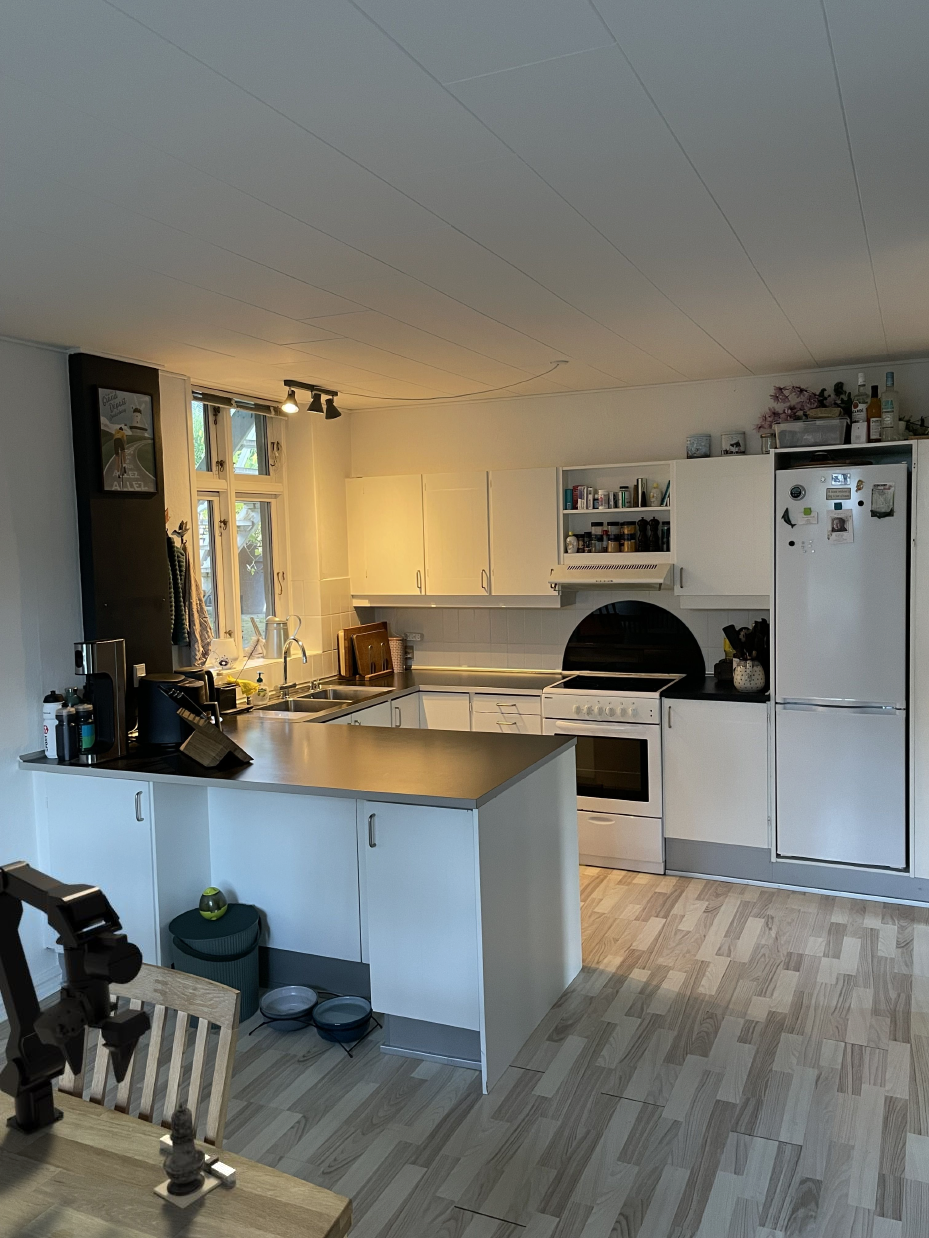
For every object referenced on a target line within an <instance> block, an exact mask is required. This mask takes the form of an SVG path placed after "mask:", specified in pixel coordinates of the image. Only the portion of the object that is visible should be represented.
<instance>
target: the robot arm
mask: <svg viewBox="0 0 929 1238" xmlns="http://www.w3.org/2000/svg"><path fill="white" fill-rule="evenodd" d="M23 902H24V903H26V904H27V905H29V906H31V907H33V908H35V909H37V910H39V911H41V912H43V913H44V914H45V915H46V917H47V918H46V919H47V925H48V926H49V927H51V928H52V929H53V930H54V931H55V932H57V934H58V935H59V936H58V937H57V938H56V939H55V944H56V945H59V946H62V949H63V951H62V952H63V958H64V967H65V968H64V969H65V975H66V976H65V977H66V984H65V985H63V986H61V987H60V991H59V995H60V997H59V1000H58V1001H57V1002H56V1003H55V1004H53V1005H50V1006H49V1007H47V1008H45V1009H43V1010H42V1008H41V1005H40V1002H39V999H38V995H37V992H36V991H37V990H36V988H35V984H34V980H33V977H32V975H31V971H30V968H29V964H28V961H27V958H26V957H27V956H26V954H25V950H24V946H23V943H22V940H21V936H20V933H19V927H20V924H21V921H22V918H23V914H24V905H23ZM120 919H121V917H120V916H119V915H118V913H117V912H116V910H115V909H114V908H113V906H112V905H111V903H110V902H109V899H108V897H107V896H106V894H105V893H104V892H103V891H102V890H101V888H100V887H98V886H96V885H91V884H88V883H87V884H86V883H75V884H74V883H73V884H71V883H70V884H69V883H64V882H62V881H60V880H59V879H56V878H54V877H52V876H50V875H48V874H46V873H44V872H42V871H41V870H37V868H34V867H32V866H31V865H30V864H29V863H28V861H27V860H26V861H25V860H16V861H14V862H10V863H7V864H4V865H1V866H0V995H1V998H2V1002H3V1006H4V1009H5V1013H6V1016H7V1020H8V1023H9V1028H10V1032H9V1035H8V1038H7V1042H6V1044H5V1045H6V1046H5V1050H4V1052H5V1053H4V1054H5V1056H6V1057H5V1058H6V1064H5V1065H4V1067H3V1069H2V1070H1V1071H0V1092H2V1093H4V1094H6V1095H8V1096H10V1097H11V1098H12V1099H13V1098H14V1099H13V1100H14V1101H13V1102H14V1111H15V1113H14V1115H12V1116H10V1117H8V1118H7V1119H6V1124H8V1125H10V1126H11V1127H13V1128H15V1129H16V1130H17V1131H19V1132H21V1133H23V1134H25V1135H29V1134H32V1133H33V1132H35V1131H37V1130H39V1129H41V1128H43V1127H45V1126H47V1125H49V1124H51V1123H53V1122H54V1121H57V1120H58V1119H61V1118H62V1117H64V1115H65V1114H64V1113H65V1112H64V1111H63V1110H61V1109H59V1108H58V1107H56V1106H55V1100H54V1087H53V1080H54V1079H56V1078H59V1077H61V1076H64V1075H65V1072H66V1064H67V1065H68V1066H69V1069H70V1070H71V1071H70V1072H72V1074H73V1076H75V1077H76V1076H78V1075H80V1074H81V1073H82V1068H83V1062H84V1052H85V1038H86V1037H85V1036H86V1028H91V1029H96V1030H100V1031H101V1032H100V1035H101V1038H102V1039H103V1041H104V1043H102V1044H101V1046H102V1047H103V1048H105V1049H106V1050H108V1051H109V1052H110V1058H111V1063H112V1068H113V1075H114V1078H115V1081H116V1082H115V1083H116V1084H122V1083H123V1081H125V1078H126V1076H127V1072H128V1070H129V1067H130V1064H131V1061H132V1057H133V1055H134V1053H135V1050H136V1048H137V1045H138V1043H139V1041H140V1039H141V1037H142V1036H144V1035H146V1032H147V1031H150V1030H151V1029H152V1022H151V1021H152V1020H151V1014H150V1013H148V1012H147V1011H146V1010H141V1009H132V1008H126V1009H125V1010H123V1011H121V1012H120V1013H118V1014H116V1015H114V1016H112V1013H113V1012H115V1011H117V1010H119V1007H118V1002H117V1001H111V994H110V993H111V992H110V985H111V984H117V985H127V984H128V983H130V982H132V981H133V980H135V978H136V977H137V976H138V975H139V973H140V972H141V969H142V966H143V960H144V958H143V957H144V956H143V952H141V949H140V948H139V947H138V945H136V944H135V943H133V942H129V941H128V935H127V934H126V933H117V932H120V931H122V930H123V928H124V927H123V924H122V923H121V921H120ZM103 922H104V923H103ZM99 924H100V925H99ZM93 926H94V927H93ZM88 928H89V929H88Z"/></svg>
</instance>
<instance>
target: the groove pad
mask: <svg viewBox="0 0 929 1238" xmlns="http://www.w3.org/2000/svg"><path fill="white" fill-rule="evenodd" d="M201 1174H202V1175H203V1176H204V1177H205V1183H204V1185H203V1187H202V1188H201V1189H200V1190H198V1191H197V1192H195V1193H193V1194H190V1195H187V1196H173V1195H171V1194H169V1193H168V1192H167V1184H168V1183H169V1181H170V1179H169V1178H168V1179H167V1180H165V1181H164V1182H163V1183H161V1184H159V1185H158V1186H156V1187H154V1188H153V1192H154V1193H156V1194H157V1195H158V1196H160V1197H162V1198H164V1199H166V1200H167V1201H169V1202H171V1203H172V1204H174V1205H176V1206H177V1207H179V1208H181V1209H185V1208H186V1207H188V1206H189V1205H191V1204H192V1203H194V1202H195V1201H196V1200H198V1199H199V1198H201V1197H203V1196H204V1195H205V1194H207V1193H209V1192H210V1191H211V1190H213V1189H215V1188H216V1187H218V1186H219V1185H221V1184H222V1181H221V1180H219V1179H217V1178H216V1177H214V1176H212V1175H210V1174H208V1173H206V1172H205V1171H203V1170H202V1171H201Z"/></svg>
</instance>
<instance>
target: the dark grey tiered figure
mask: <svg viewBox="0 0 929 1238" xmlns="http://www.w3.org/2000/svg"><path fill="white" fill-rule="evenodd" d="M170 1119H171V1120H170V1122H171V1133H170V1135H169V1136H170V1140H171V1141H172V1147H173V1151H172V1154H170V1153H169V1154H168V1155H167V1156H166V1157H165V1159H164V1160H163V1163H162V1168H163V1170H165V1174H166V1176H167V1177H168V1180H169V1179H170V1181H169V1183H168V1184H167V1192H168V1193H169V1194H171V1195H173V1196H187V1195H190V1194H193V1193H195V1192H197V1191H198V1190H200V1189H201V1188H202V1187H203V1185H204V1183H205V1177H204V1176H203V1175H202V1174H201V1171H202V1168H203V1165H204V1161H205V1158H206V1155H207V1154H206V1152H205V1151H204V1150H202V1149H200V1148H197V1147H195V1136H196V1133H197V1131H196V1129H195V1128H194V1127H193V1124H194V1123H193V1113H192V1110H191V1109H190V1108H188V1107H185V1106H184V1104H183V1103H182V1102H180V1103H179V1105H178V1108H177V1109H175V1110H174V1111H173V1112H172V1114H171V1117H170Z"/></svg>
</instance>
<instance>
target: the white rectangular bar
mask: <svg viewBox="0 0 929 1238" xmlns="http://www.w3.org/2000/svg"><path fill="white" fill-rule="evenodd" d="M159 1148H160V1149H161V1150H163V1151H165V1152H167V1153H169V1155H170V1154H172V1151H173V1147H172V1141H171V1140H170V1135H169V1134H166V1135H164V1136H162V1137H161V1138H159ZM205 1155H206V1158H205V1161H204V1165H203V1168H202V1170H203V1171H205V1172H206V1173H208V1174H210V1175H212V1176H214V1177H216V1178H217V1179H219V1180H221V1183H222V1182H223V1183H224V1184H225V1185H228V1186H229V1185H230V1184H232V1183H233V1182H235V1181H236V1180H237V1175H236V1169H233V1168H232V1167H230V1166H228V1165H226V1164H224V1163H222V1162H220V1159H219V1158H220V1157H219V1156H218V1155H216V1154H213V1155H211V1156H209V1155H207V1154H205Z"/></svg>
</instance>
